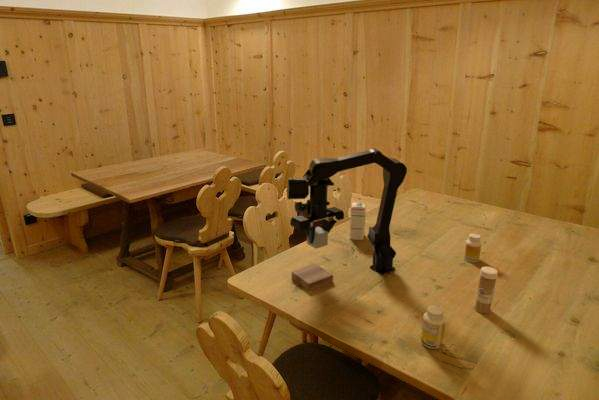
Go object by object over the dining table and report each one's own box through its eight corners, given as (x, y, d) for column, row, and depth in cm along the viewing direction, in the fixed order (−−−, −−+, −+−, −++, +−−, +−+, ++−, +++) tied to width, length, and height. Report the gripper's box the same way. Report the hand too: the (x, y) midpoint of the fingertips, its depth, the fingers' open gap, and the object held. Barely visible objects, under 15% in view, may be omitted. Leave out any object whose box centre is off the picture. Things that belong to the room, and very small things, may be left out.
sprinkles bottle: (472, 310, 120) (478, 270, 116) (477, 303, 124) (483, 264, 119) (488, 316, 118) (495, 275, 113) (492, 309, 121) (500, 269, 117)
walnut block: (332, 282, 136) (333, 274, 135) (309, 292, 130) (309, 284, 129) (314, 271, 144) (314, 263, 143) (291, 279, 138) (291, 271, 137)
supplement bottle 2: (480, 263, 148) (484, 239, 145) (464, 262, 149) (468, 238, 146) (477, 256, 153) (481, 233, 150) (462, 255, 154) (465, 232, 151)
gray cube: (327, 245, 137) (327, 231, 135) (315, 248, 134) (316, 234, 132) (318, 239, 141) (318, 226, 139) (306, 243, 138) (307, 229, 136)
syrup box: (363, 240, 167) (365, 207, 162) (349, 239, 168) (350, 206, 163) (364, 234, 172) (366, 202, 167) (350, 233, 173) (351, 201, 168)
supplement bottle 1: (435, 335, 110) (440, 302, 106) (446, 348, 104) (451, 315, 101) (416, 337, 109) (420, 304, 105) (426, 351, 103) (430, 317, 100)
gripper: (325, 187, 143) (323, 227, 148) (281, 196, 133) (281, 239, 138) (346, 195, 135) (343, 238, 140) (300, 206, 124) (300, 251, 129)
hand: (317, 241), depth 137 cm, fingers closed on gray cube, 5 cm apart
